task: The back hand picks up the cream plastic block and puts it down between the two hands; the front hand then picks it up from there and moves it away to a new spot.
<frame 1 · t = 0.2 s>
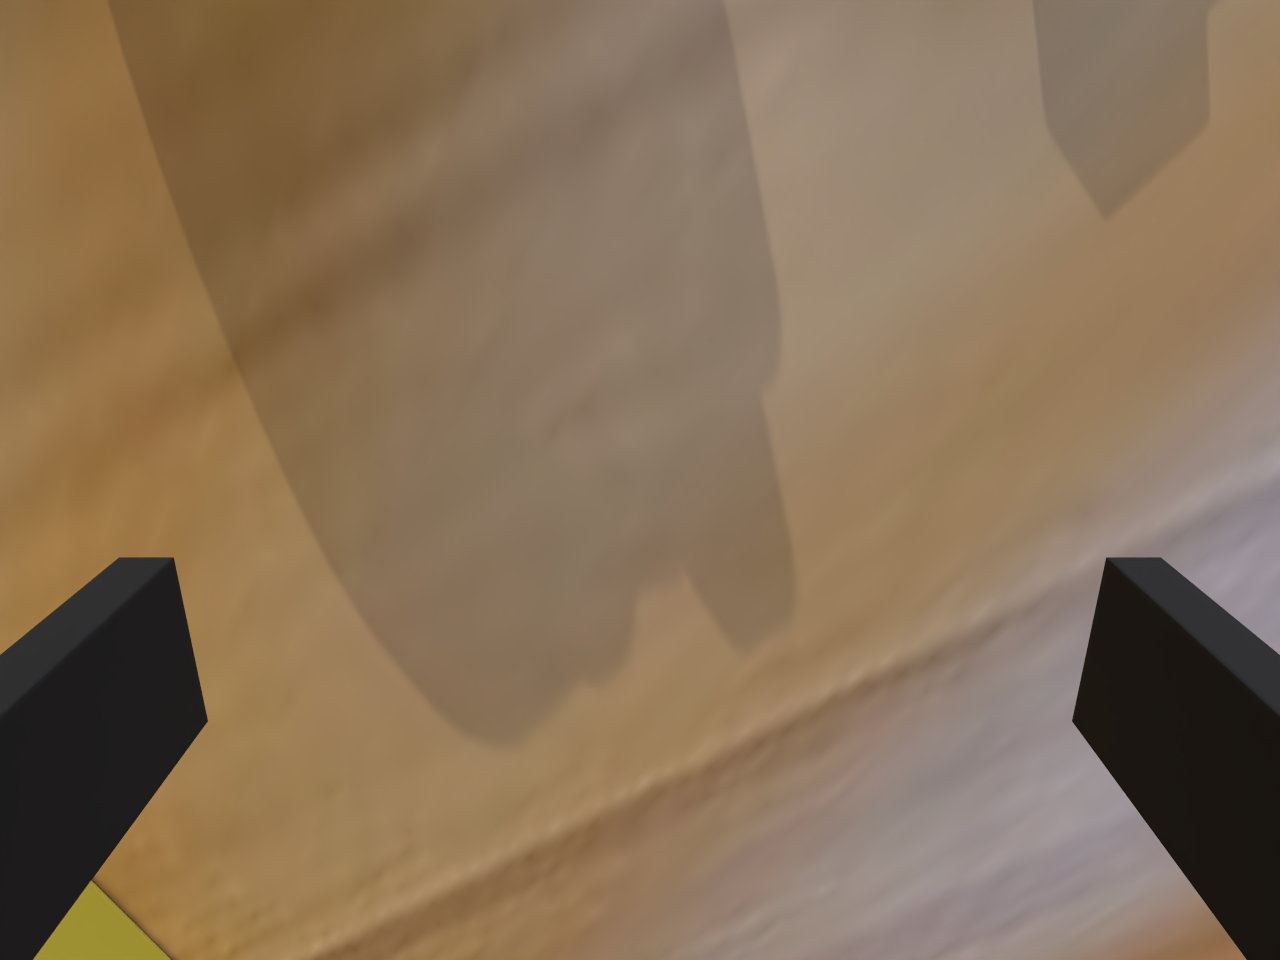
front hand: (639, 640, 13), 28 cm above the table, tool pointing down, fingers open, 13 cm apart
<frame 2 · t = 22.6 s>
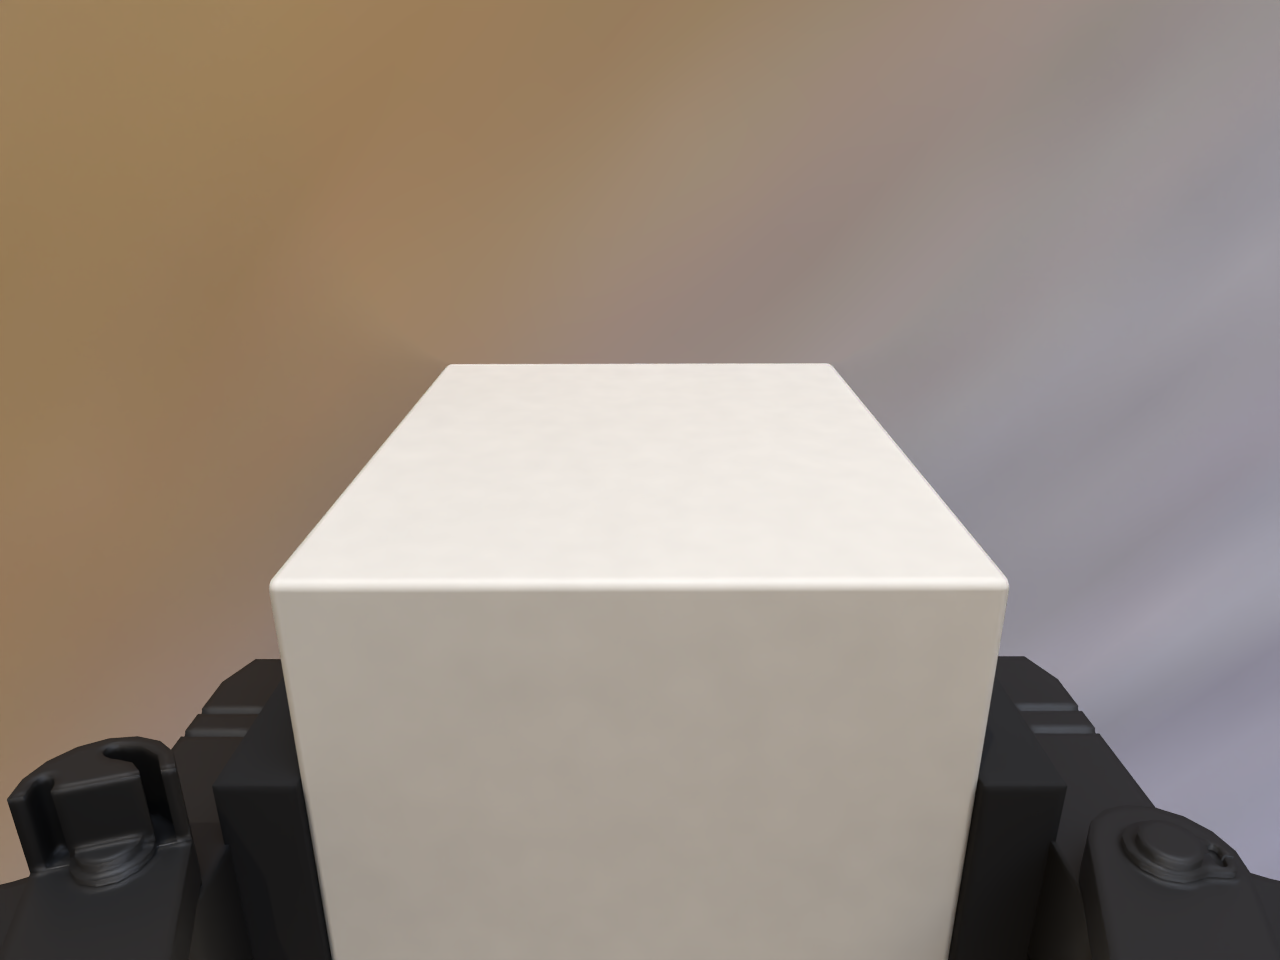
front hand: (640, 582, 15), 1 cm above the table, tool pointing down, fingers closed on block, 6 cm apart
block: (639, 546, 16), on the table, touching front hand
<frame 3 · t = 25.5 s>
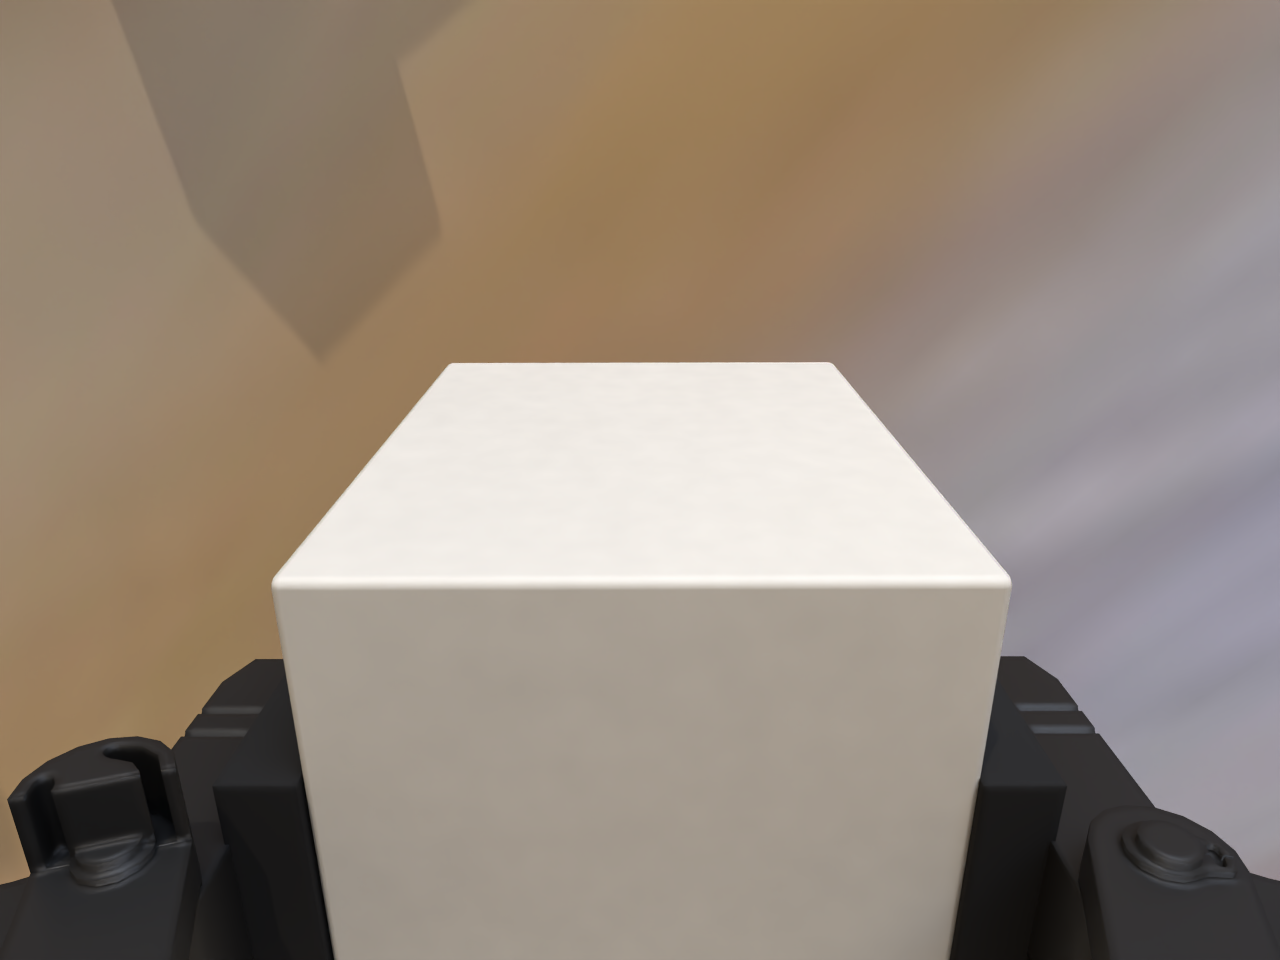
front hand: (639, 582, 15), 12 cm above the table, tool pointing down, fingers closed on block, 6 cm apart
block: (641, 545, 16), point 11 cm above the table, touching front hand
when the front hand's fingers open (3 cm above the table, at t = 28.9 s): block drops 1 cm, on the table.
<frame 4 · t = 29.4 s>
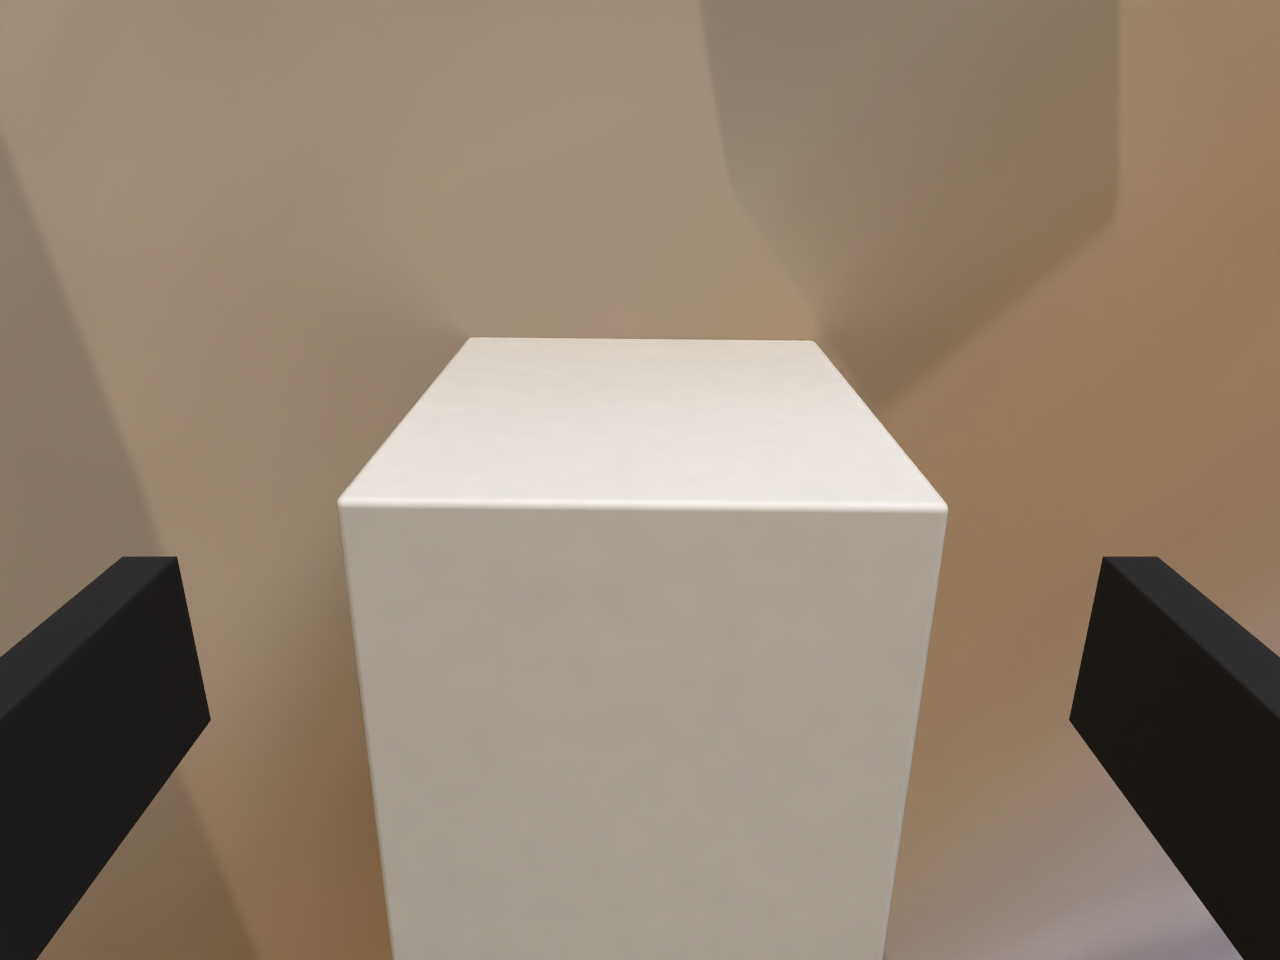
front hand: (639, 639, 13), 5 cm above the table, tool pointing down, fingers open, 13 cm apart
block: (640, 506, 17), on the table
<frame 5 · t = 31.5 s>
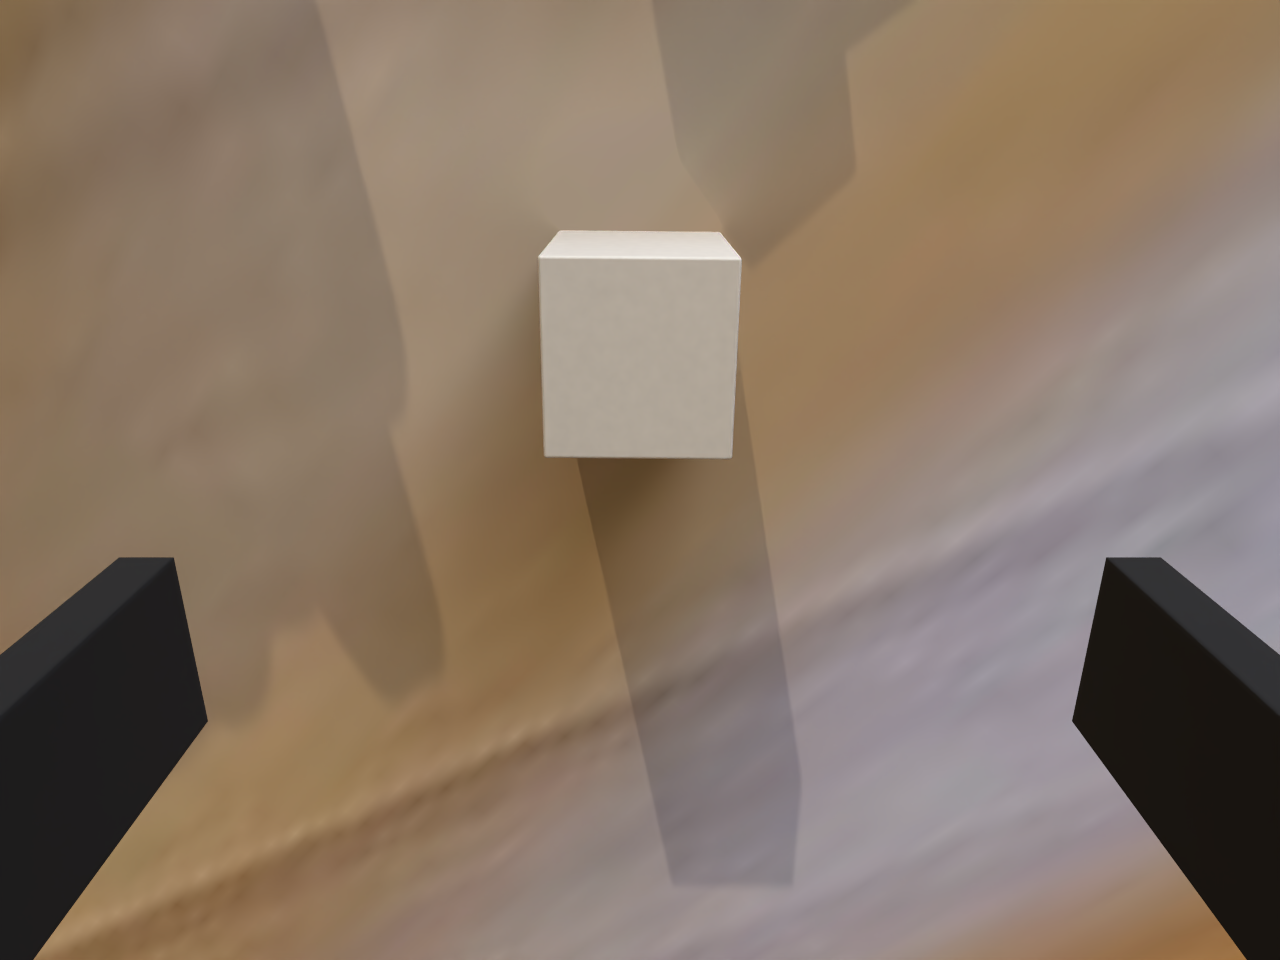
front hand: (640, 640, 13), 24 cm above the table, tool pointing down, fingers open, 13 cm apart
block: (638, 316, 35), on the table
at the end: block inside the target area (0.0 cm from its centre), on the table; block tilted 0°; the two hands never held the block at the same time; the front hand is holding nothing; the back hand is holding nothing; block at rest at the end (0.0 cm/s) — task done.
